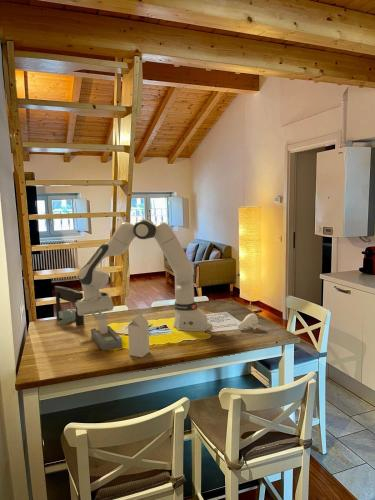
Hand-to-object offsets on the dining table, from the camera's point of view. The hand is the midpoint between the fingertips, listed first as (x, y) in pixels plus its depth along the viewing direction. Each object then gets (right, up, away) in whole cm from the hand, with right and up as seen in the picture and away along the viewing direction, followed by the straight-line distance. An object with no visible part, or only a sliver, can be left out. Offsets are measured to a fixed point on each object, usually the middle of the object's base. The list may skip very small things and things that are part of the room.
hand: (98, 319), depth 199 cm
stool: (-25, -6, +26) cm, 37 cm away
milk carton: (+27, -12, -27) cm, 40 cm away
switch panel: (+7, -10, -10) cm, 16 cm away
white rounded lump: (+84, -7, +3) cm, 84 cm away
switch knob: (+4, -6, -6) cm, 10 cm away
